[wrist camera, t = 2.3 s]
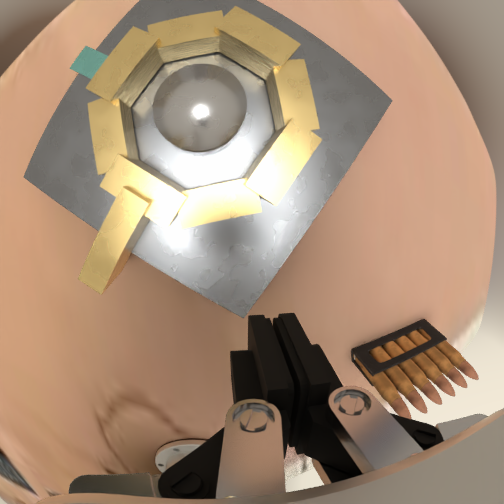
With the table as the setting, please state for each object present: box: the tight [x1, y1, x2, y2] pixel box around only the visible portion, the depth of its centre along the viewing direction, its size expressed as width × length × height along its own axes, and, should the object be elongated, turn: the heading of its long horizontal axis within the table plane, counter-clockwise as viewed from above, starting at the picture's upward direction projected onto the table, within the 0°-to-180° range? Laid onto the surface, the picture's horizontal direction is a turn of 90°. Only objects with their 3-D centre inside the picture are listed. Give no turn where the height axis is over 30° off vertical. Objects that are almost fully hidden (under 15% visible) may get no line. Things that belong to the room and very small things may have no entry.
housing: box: [24, 0, 392, 318], centre depth 19 cm, size 24×25×6 cm
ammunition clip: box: [351, 319, 478, 419], centre depth 25 cm, size 11×2×12 cm, turn 103°
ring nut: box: [78, 6, 322, 295], centre depth 18 cm, size 21×15×5 cm
